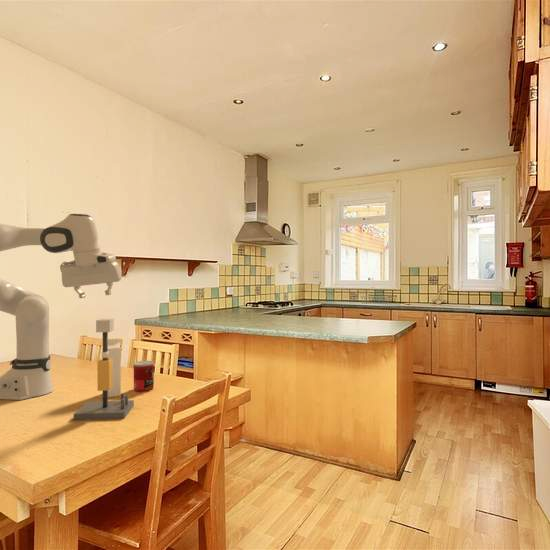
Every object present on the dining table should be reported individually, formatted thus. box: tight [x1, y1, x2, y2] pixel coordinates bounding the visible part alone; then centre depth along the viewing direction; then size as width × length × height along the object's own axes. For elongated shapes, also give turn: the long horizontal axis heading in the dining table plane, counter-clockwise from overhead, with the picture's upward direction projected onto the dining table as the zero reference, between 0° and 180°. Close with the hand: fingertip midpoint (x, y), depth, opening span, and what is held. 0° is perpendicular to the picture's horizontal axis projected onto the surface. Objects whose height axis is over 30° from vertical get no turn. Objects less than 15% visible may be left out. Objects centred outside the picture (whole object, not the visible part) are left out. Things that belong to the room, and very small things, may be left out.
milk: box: [101, 337, 122, 398], centre depth 152 cm, size 6×6×22 cm
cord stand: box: [73, 318, 135, 421], centre depth 133 cm, size 16×12×32 cm
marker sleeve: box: [96, 358, 113, 392], centre depth 133 cm, size 4×4×10 cm
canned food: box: [133, 360, 155, 393], centre depth 160 cm, size 8×8×11 cm
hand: (95, 296), depth 141 cm, fingers open, 8 cm apart
